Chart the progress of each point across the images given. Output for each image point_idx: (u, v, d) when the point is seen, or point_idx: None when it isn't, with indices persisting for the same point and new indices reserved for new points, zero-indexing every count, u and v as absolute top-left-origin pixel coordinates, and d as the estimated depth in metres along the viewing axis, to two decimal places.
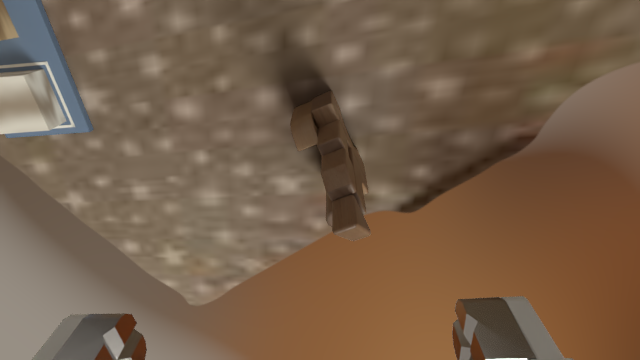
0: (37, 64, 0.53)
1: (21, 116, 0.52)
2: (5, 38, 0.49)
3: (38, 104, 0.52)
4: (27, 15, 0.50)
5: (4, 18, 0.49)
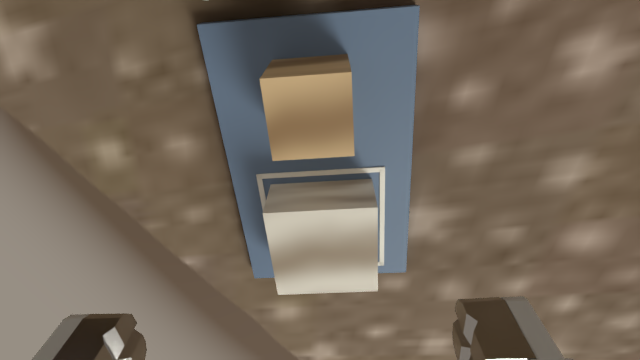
0: (364, 171, 0.28)
1: (337, 270, 0.28)
2: None
3: (377, 251, 0.27)
4: (386, 87, 0.25)
5: None
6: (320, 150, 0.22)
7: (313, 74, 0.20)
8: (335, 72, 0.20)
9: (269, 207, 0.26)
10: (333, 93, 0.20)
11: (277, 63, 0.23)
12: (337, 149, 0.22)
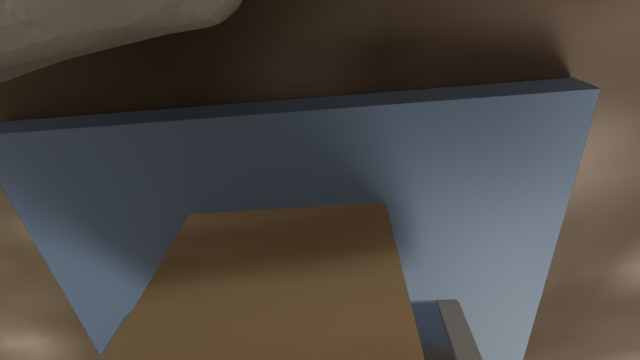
0: None
1: None
2: None
3: None
4: (475, 270, 0.10)
5: None
6: None
7: None
8: None
9: None
10: None
11: (193, 245, 0.08)
12: None
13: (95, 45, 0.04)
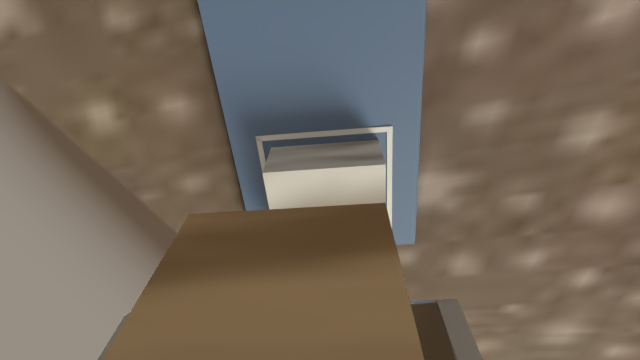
0: (370, 131, 0.26)
1: None
2: None
3: None
4: (393, 36, 0.23)
5: None
6: None
7: None
8: None
9: (269, 167, 0.24)
10: None
11: (191, 246, 0.08)
12: None
13: None
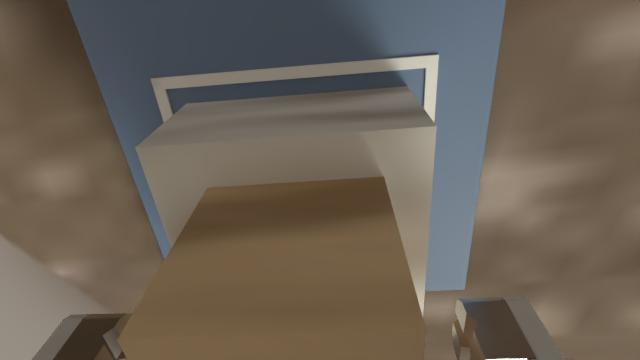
0: (391, 67, 0.12)
1: None
2: None
3: (425, 246, 0.12)
4: None
5: None
6: None
7: (295, 327, 0.06)
8: (368, 320, 0.06)
9: (159, 136, 0.10)
10: None
11: (212, 212, 0.09)
12: None
13: None
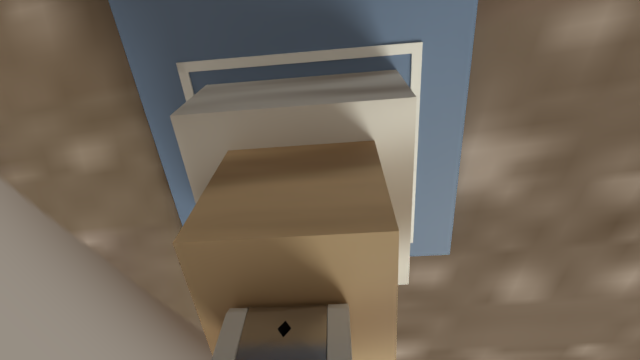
0: (382, 53, 0.15)
1: None
2: None
3: (410, 203, 0.14)
4: None
5: None
6: None
7: (304, 232, 0.08)
8: (357, 227, 0.08)
9: (188, 108, 0.12)
10: (352, 271, 0.08)
11: (234, 166, 0.11)
12: None
13: None
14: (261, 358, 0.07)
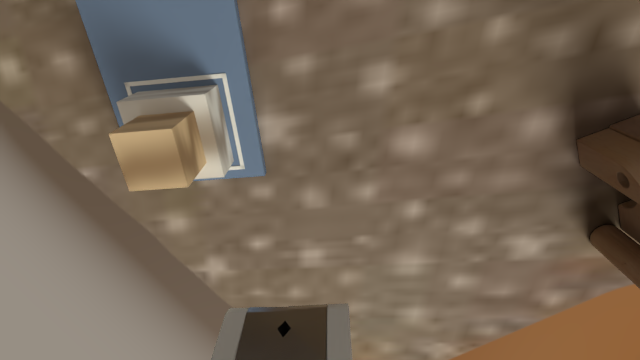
0: (210, 77, 0.35)
1: None
2: (198, 171, 0.32)
3: (216, 138, 0.33)
4: (211, 2, 0.32)
5: (196, 141, 0.32)
6: (162, 183, 0.30)
7: (146, 130, 0.28)
8: (161, 128, 0.28)
9: (124, 99, 0.33)
10: (162, 143, 0.28)
11: (137, 119, 0.31)
12: (174, 182, 0.30)
13: None
14: (261, 358, 0.07)
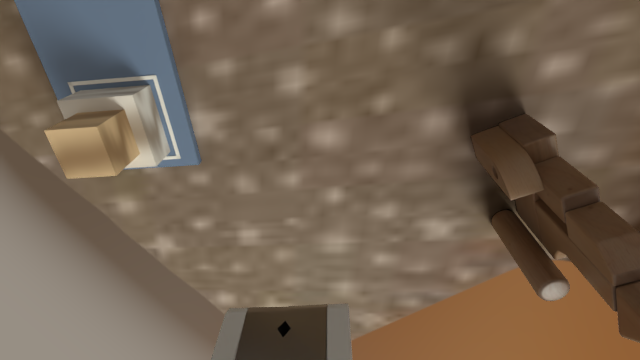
0: (142, 78, 0.39)
1: None
2: (129, 162, 0.37)
3: (146, 132, 0.39)
4: (138, 13, 0.36)
5: (127, 135, 0.37)
6: (94, 172, 0.35)
7: (75, 127, 0.33)
8: (88, 126, 0.33)
9: (64, 98, 0.37)
10: (90, 138, 0.33)
11: (74, 116, 0.36)
12: (104, 171, 0.35)
13: None
14: (261, 358, 0.07)
